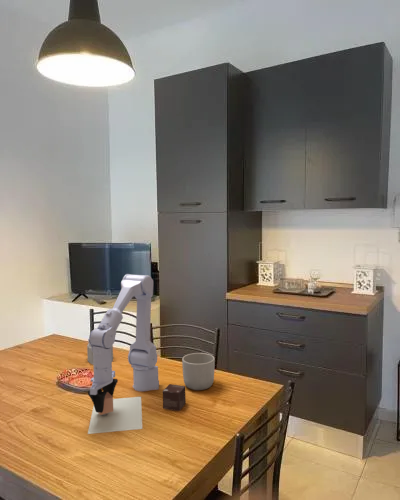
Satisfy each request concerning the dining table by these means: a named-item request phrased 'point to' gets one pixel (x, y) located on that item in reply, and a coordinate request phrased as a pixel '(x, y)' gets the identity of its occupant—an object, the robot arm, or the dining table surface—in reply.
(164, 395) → the box
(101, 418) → the board
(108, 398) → the peach colored cube
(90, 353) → the lumpy-topped squat cylinder
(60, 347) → the dining table surface
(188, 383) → the planter
